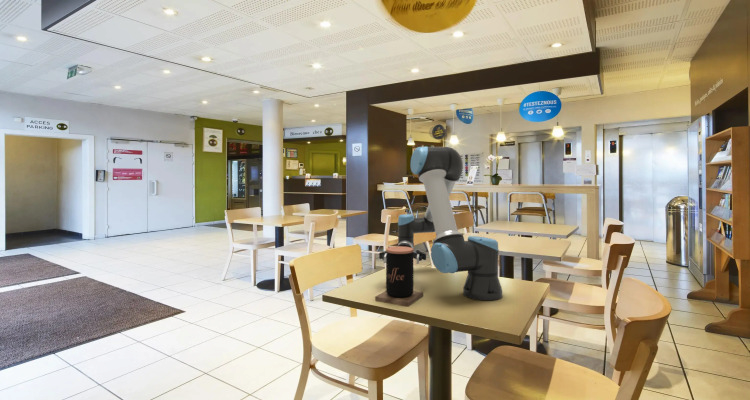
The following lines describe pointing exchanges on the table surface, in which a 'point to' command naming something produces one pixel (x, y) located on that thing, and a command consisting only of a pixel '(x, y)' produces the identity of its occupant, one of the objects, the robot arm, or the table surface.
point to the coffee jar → (399, 271)
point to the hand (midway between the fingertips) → (401, 260)
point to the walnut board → (400, 301)
